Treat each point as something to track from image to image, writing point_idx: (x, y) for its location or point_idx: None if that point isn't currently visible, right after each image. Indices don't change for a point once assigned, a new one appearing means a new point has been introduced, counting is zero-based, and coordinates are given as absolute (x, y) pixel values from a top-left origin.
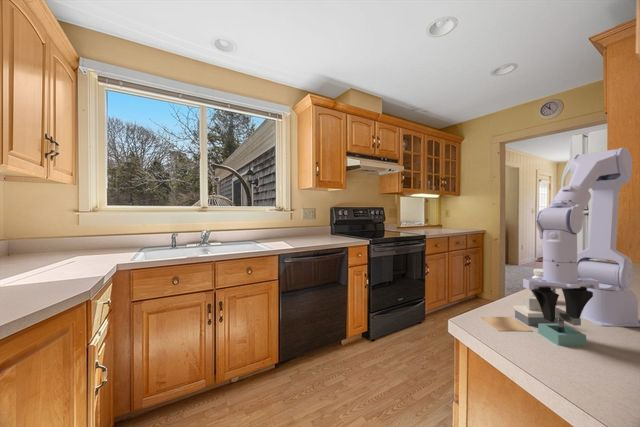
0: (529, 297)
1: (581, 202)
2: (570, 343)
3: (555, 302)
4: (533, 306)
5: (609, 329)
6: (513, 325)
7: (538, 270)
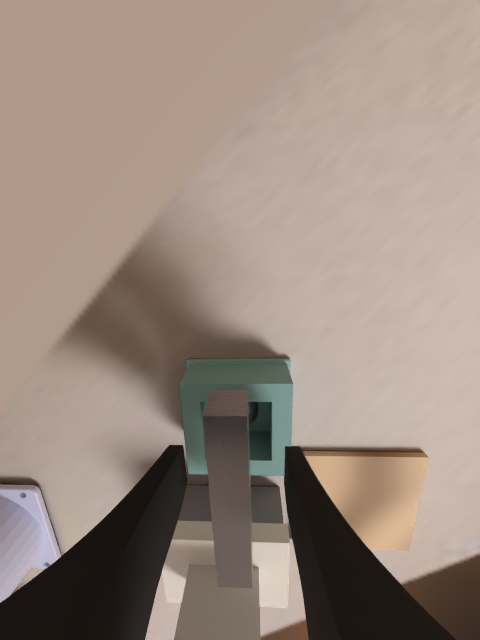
0: None
1: None
2: (243, 366)
3: (329, 569)
4: (240, 589)
5: (27, 469)
6: (336, 491)
7: None
